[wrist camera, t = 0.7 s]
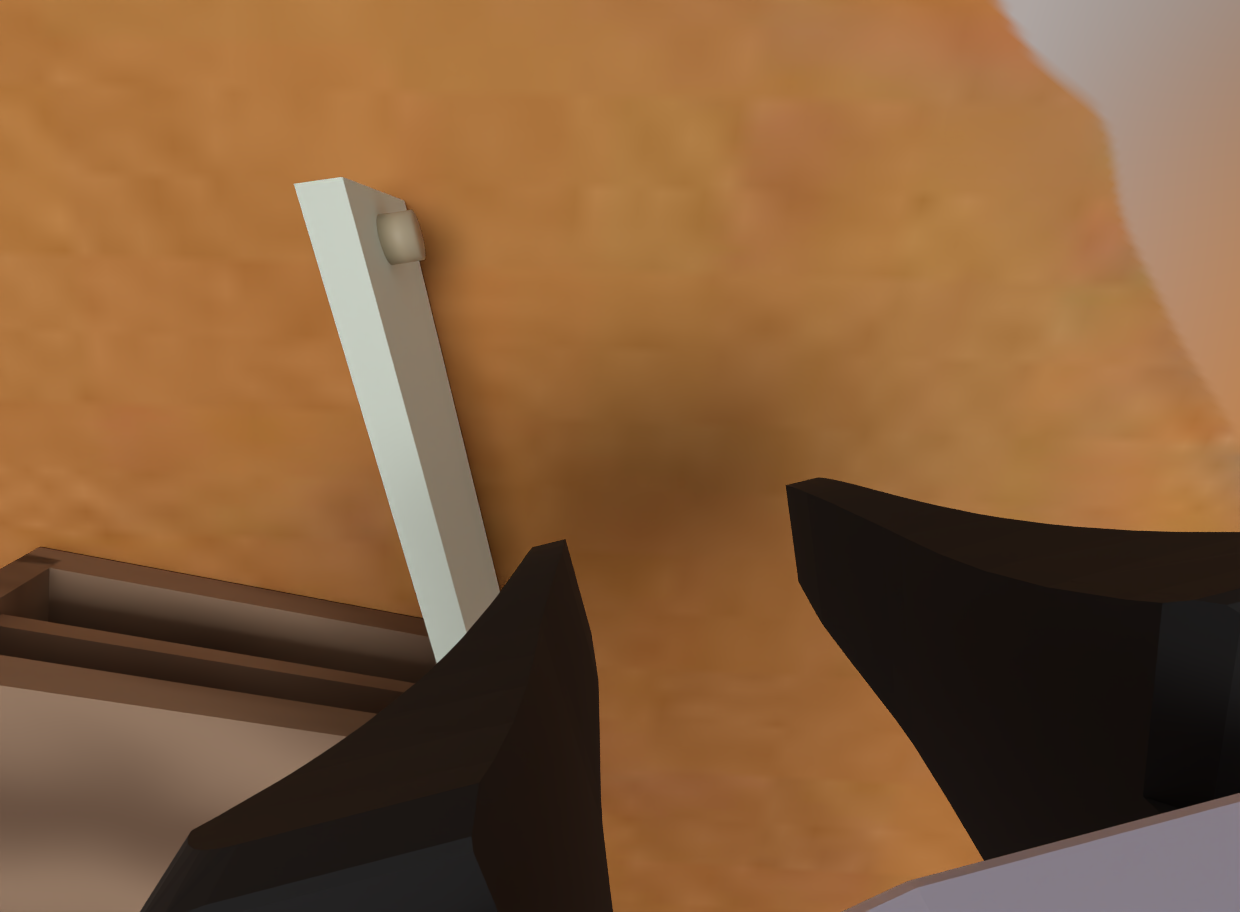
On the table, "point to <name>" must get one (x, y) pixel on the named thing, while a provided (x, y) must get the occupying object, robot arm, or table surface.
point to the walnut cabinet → (163, 713)
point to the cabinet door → (404, 396)
